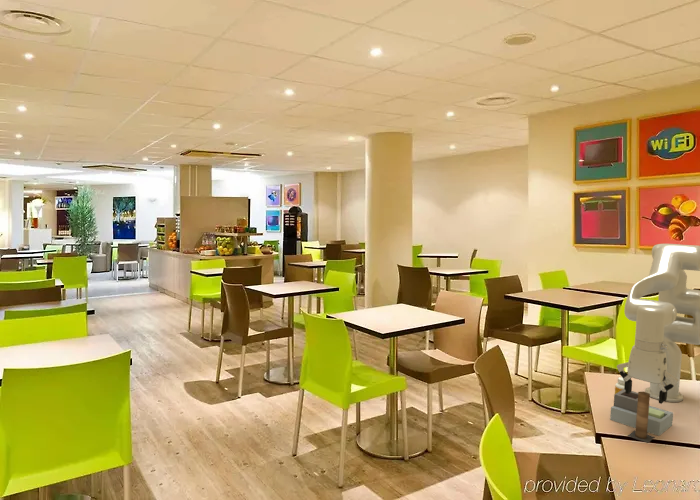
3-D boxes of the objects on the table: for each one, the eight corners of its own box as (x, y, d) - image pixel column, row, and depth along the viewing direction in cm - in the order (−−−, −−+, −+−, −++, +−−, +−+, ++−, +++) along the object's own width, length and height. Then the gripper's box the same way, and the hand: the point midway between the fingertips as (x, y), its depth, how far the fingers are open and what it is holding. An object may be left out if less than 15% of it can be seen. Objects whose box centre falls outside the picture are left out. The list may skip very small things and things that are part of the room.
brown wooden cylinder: (637, 433, 164) (640, 390, 162) (648, 436, 161) (651, 393, 160) (633, 436, 161) (636, 393, 160) (644, 439, 159) (647, 396, 158)
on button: (648, 421, 172) (649, 407, 171) (663, 426, 168) (664, 412, 168) (642, 425, 169) (644, 411, 168) (658, 430, 165) (659, 415, 165)
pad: (634, 432, 166) (634, 430, 166) (654, 438, 161) (655, 437, 161) (627, 437, 162) (627, 435, 162) (647, 444, 157) (647, 442, 157)
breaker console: (624, 412, 181) (626, 387, 180) (672, 426, 170) (674, 400, 169) (610, 421, 173) (611, 395, 172) (658, 437, 162) (661, 410, 161)
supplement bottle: (619, 400, 192) (620, 375, 191) (633, 405, 187) (635, 379, 186) (610, 402, 189) (612, 377, 188) (625, 408, 185) (627, 382, 184)
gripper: (684, 349, 154) (680, 402, 157) (624, 336, 167) (620, 386, 170) (676, 354, 149) (671, 410, 152) (614, 341, 162) (611, 392, 165)
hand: (644, 397), depth 161 cm, fingers open, 9 cm apart
